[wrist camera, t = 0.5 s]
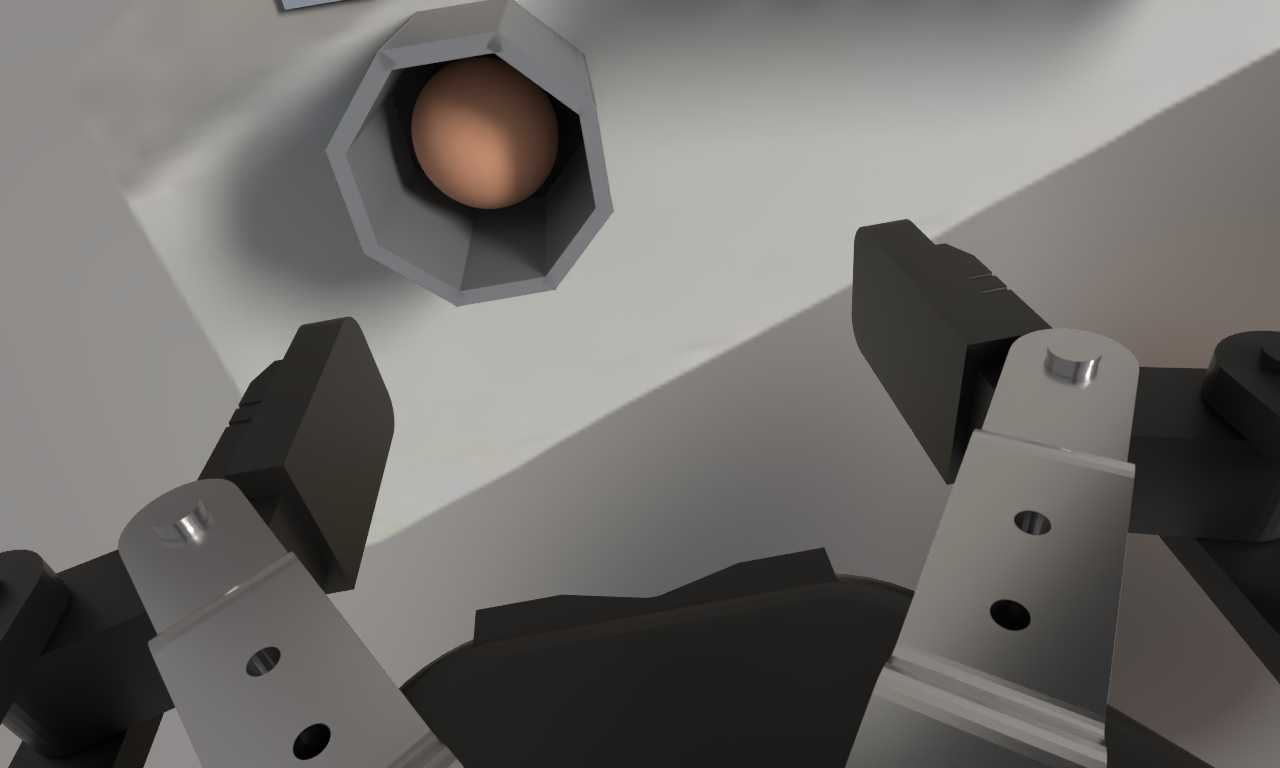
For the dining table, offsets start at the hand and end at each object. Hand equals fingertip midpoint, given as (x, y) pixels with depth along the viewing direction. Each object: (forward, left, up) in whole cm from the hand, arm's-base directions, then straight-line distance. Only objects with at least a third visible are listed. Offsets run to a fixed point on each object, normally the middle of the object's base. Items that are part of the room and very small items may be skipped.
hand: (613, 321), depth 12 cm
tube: (+2, -4, -25) cm, 25 cm away
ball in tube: (+2, -4, -22) cm, 22 cm away
